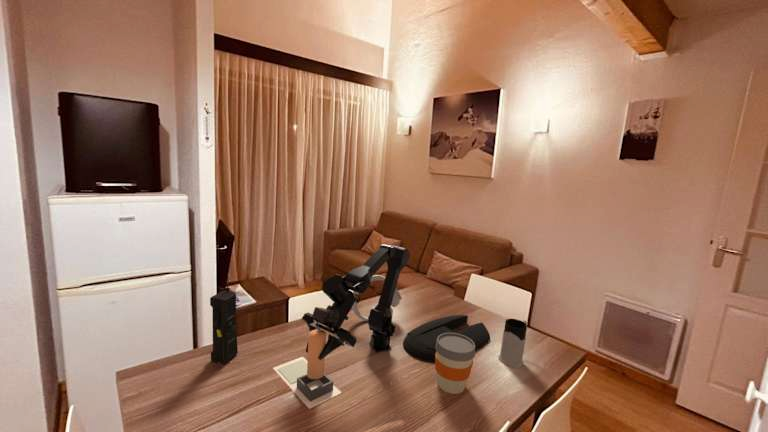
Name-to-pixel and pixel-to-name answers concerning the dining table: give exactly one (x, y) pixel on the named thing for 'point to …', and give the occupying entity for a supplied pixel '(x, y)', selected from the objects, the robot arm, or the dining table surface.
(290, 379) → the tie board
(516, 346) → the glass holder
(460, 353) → the reusable coffee cup
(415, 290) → the dining table surface
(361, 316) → the headphones
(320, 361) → the tall peach cylinder
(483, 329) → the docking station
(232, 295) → the portable radio
